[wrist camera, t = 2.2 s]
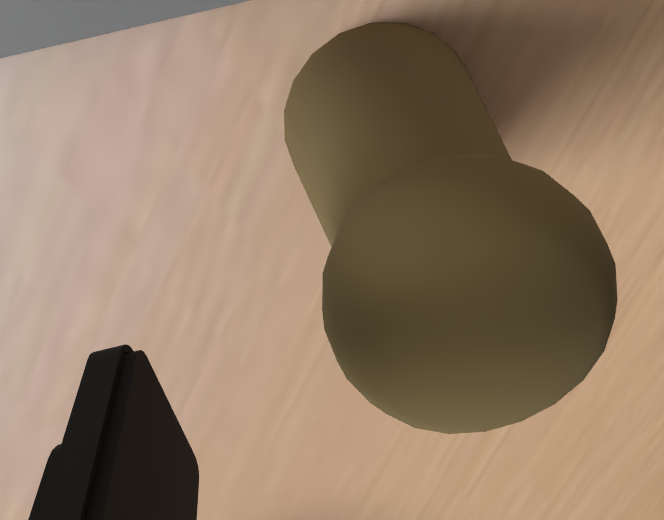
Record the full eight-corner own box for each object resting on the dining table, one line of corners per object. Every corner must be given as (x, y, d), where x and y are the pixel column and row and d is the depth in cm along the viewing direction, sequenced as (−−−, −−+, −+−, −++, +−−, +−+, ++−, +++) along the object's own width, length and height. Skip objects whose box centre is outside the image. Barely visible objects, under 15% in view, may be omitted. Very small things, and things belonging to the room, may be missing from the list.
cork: (246, 82, 18) (229, 303, 9) (436, -19, 17) (645, 109, 8) (336, 239, 21) (393, 524, 12) (501, 161, 20) (705, 405, 11)
